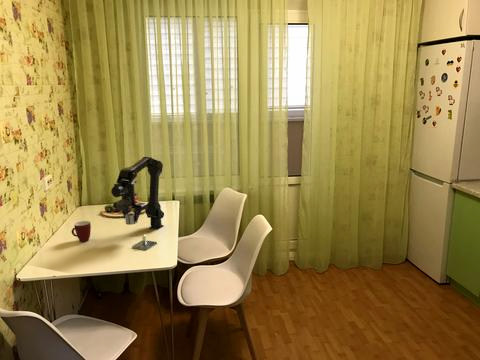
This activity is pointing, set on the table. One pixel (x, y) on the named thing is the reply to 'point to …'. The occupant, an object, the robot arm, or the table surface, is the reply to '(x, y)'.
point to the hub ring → (130, 219)
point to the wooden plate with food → (117, 211)
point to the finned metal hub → (144, 244)
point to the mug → (82, 230)
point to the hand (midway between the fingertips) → (131, 220)
